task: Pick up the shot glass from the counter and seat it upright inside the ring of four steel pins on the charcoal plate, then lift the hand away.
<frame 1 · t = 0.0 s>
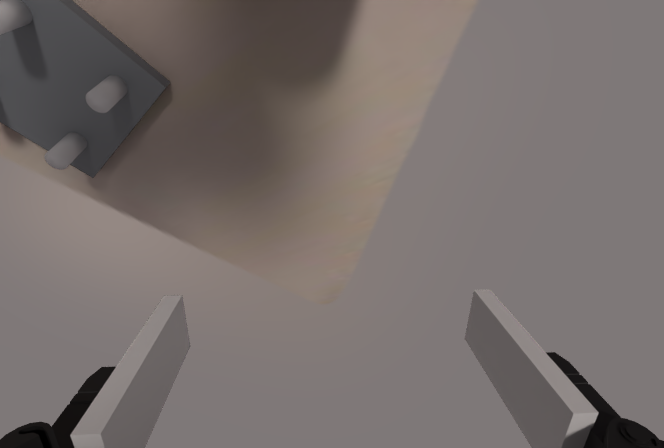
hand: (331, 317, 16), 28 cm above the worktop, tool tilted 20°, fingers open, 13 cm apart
pin plate: (59, 78, 35), on the worktop
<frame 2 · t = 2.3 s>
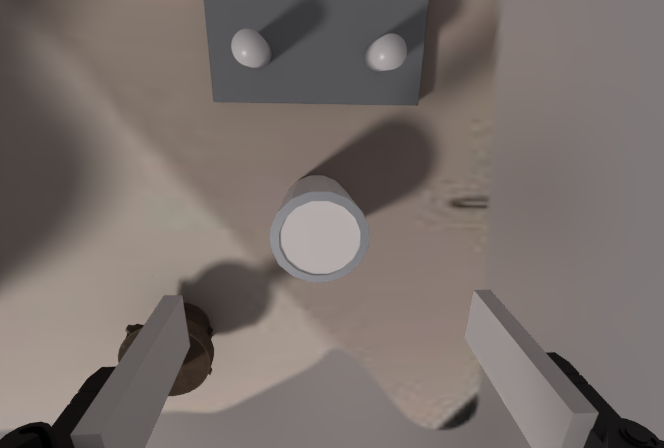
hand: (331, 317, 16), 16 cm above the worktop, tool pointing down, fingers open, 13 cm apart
industrial component: (179, 315, 34), on the worktop
shot glass: (316, 205, 31), on the worktop
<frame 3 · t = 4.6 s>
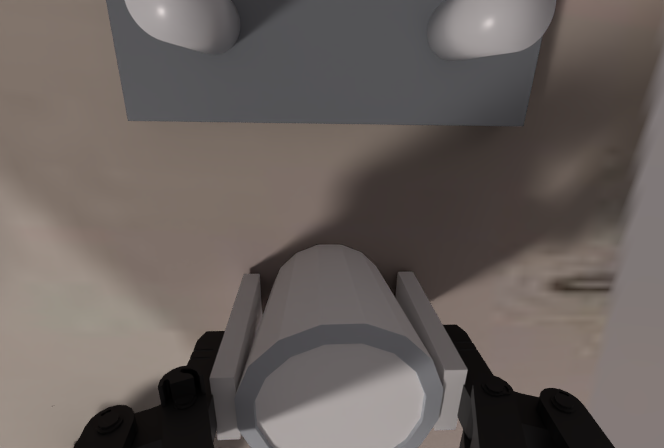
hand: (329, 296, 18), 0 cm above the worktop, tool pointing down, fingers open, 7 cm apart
shot glass: (328, 291, 18), on the worktop, touching gripper
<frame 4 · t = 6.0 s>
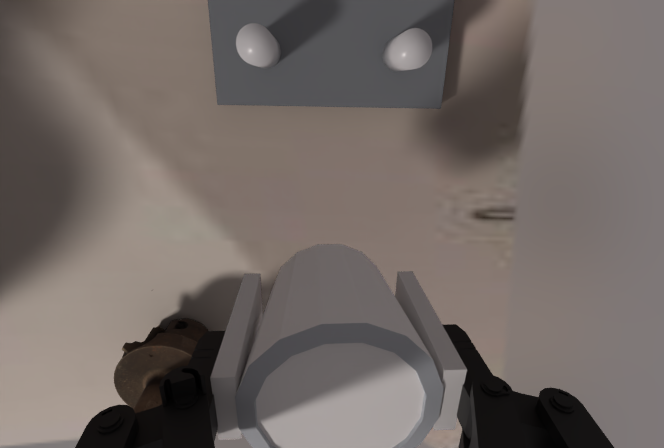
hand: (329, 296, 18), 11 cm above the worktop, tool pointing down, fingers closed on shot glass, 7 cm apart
industrial component: (181, 331, 32), on the worktop
shot glass: (328, 291, 18), point 11 cm above the worktop, touching gripper
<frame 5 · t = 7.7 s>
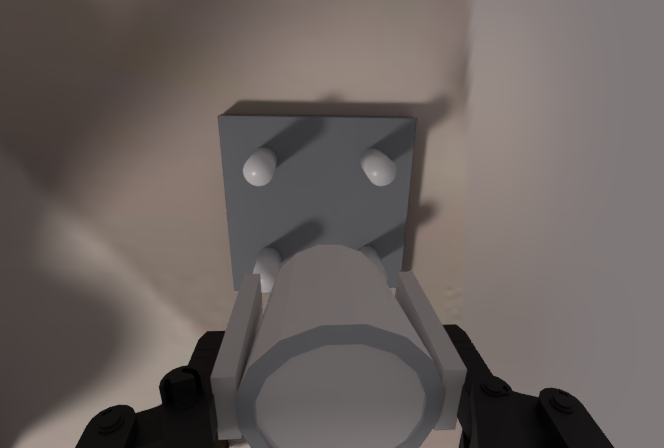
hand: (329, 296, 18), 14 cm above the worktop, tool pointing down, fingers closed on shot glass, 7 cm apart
industrial component: (201, 432, 40), on the worktop
shot glass: (328, 292, 18), point 14 cm above the worktop, touching gripper
pin plate: (318, 205, 31), on the worktop
when the fingers open (2 cm above the worktop, at t = 10.1 s): shot glass stays where it is, resting on pin plate.
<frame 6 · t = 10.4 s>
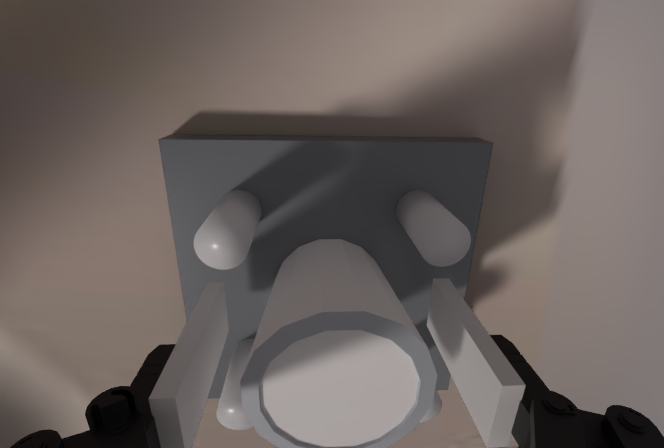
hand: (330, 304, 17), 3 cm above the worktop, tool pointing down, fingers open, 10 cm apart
shot glass: (328, 285, 19), point 1 cm above the worktop, touching pin plate
pin plate: (326, 272, 20), on the worktop
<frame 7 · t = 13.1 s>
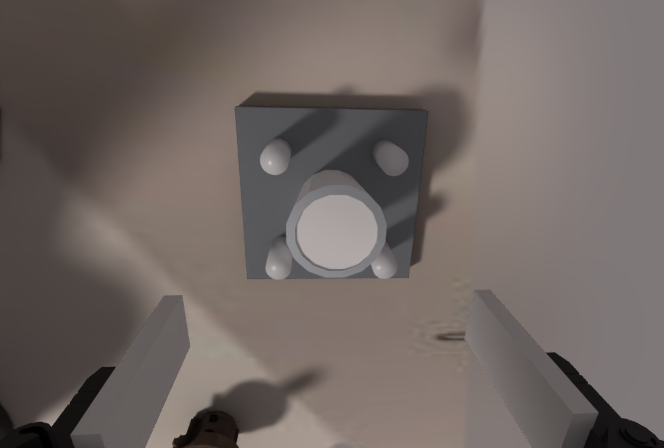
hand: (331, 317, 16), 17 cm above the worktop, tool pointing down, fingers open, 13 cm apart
industrial component: (211, 419, 41), on the worktop
shot glass: (331, 201, 31), point 1 cm above the worktop, touching pin plate
pin plate: (330, 196, 32), on the worktop
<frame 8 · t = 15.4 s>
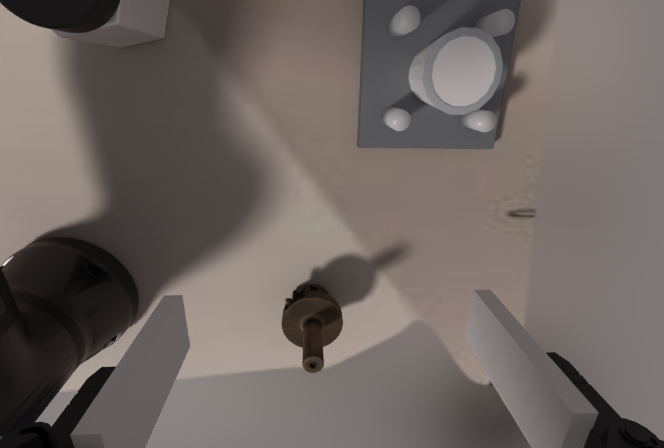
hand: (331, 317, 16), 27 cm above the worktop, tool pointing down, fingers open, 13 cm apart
industrial component: (308, 294, 47), on the worktop
shot glass: (435, 74, 37), point 1 cm above the worktop, touching pin plate
pin plate: (430, 74, 38), on the worktop
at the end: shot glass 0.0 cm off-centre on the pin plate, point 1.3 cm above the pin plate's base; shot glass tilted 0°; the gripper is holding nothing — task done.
